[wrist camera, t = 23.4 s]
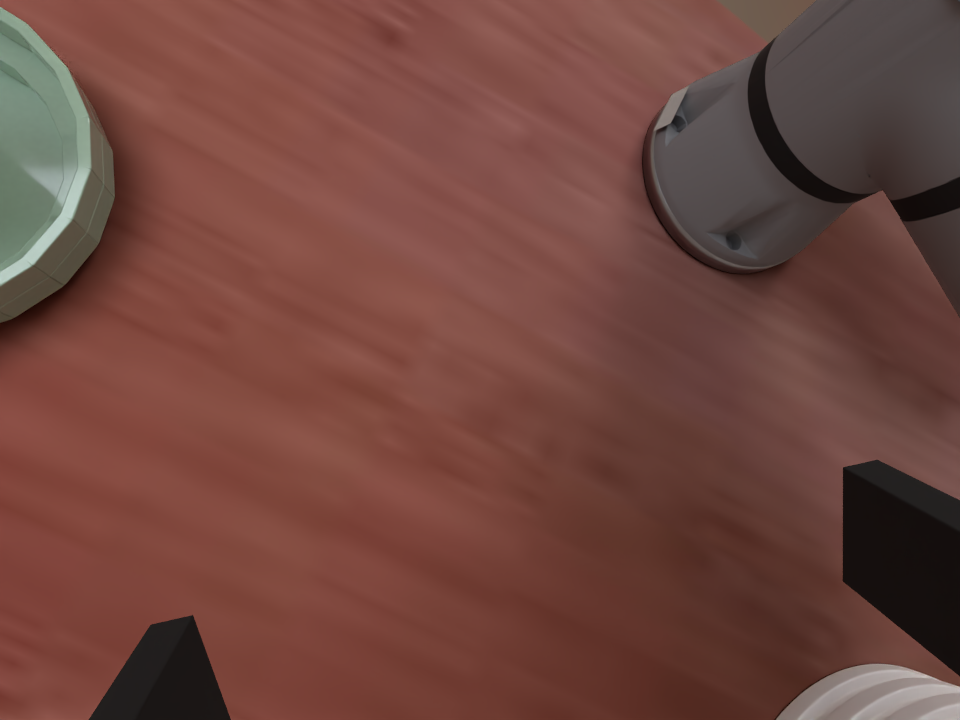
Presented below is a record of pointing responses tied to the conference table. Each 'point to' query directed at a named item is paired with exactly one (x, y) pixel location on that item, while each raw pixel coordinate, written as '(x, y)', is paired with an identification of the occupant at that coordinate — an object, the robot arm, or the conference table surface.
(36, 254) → the basin
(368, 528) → the conference table surface
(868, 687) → the plate stack
